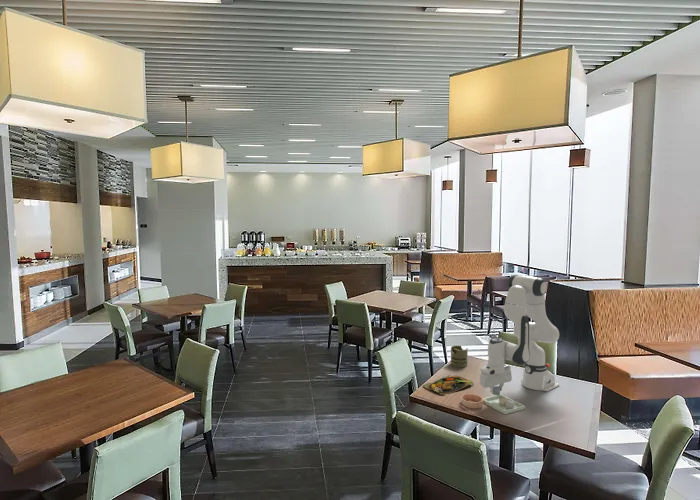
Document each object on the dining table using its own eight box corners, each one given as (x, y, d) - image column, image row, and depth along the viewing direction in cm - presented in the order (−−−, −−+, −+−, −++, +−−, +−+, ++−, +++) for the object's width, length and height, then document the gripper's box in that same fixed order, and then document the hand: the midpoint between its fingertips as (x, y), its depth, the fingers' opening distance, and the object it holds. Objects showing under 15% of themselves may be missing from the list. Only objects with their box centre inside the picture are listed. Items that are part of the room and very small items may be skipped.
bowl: (472, 398, 231) (472, 392, 231) (487, 406, 221) (487, 400, 221) (456, 402, 226) (456, 396, 226) (471, 410, 216) (471, 404, 216)
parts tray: (500, 397, 232) (500, 394, 232) (524, 409, 217) (524, 405, 217) (481, 402, 226) (481, 398, 226) (505, 415, 211) (505, 411, 211)
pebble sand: (502, 402, 224) (502, 396, 224) (508, 405, 220) (508, 399, 220) (497, 404, 222) (497, 397, 222) (502, 407, 219) (503, 400, 218)
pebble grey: (509, 406, 219) (510, 399, 219) (515, 409, 216) (515, 402, 216) (504, 408, 218) (504, 401, 218) (510, 411, 214) (510, 404, 214)
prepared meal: (444, 391, 233) (421, 381, 248) (443, 397, 233) (421, 386, 248) (475, 382, 250) (452, 372, 264) (474, 387, 250) (451, 378, 264)
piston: (459, 351, 278) (447, 347, 288) (459, 368, 279) (447, 363, 289) (471, 348, 284) (458, 344, 294) (470, 365, 285) (458, 360, 295)
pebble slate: (496, 391, 229) (496, 385, 229) (501, 394, 226) (501, 387, 225) (490, 393, 228) (490, 386, 227) (496, 395, 224) (496, 389, 224)
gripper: (505, 362, 232) (505, 385, 234) (478, 369, 224) (478, 393, 225) (514, 366, 227) (514, 389, 228) (486, 373, 218) (486, 397, 219)
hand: (496, 391), depth 226 cm, fingers closed on pebble slate, 4 cm apart
